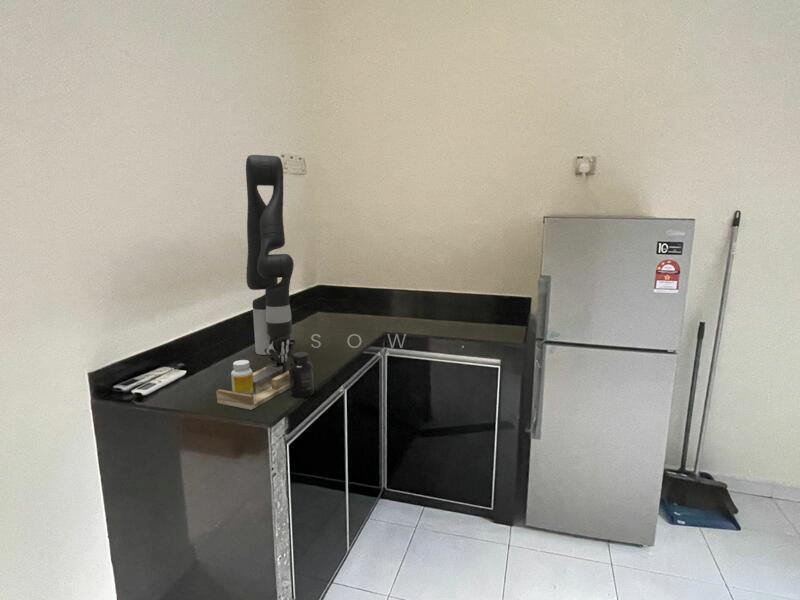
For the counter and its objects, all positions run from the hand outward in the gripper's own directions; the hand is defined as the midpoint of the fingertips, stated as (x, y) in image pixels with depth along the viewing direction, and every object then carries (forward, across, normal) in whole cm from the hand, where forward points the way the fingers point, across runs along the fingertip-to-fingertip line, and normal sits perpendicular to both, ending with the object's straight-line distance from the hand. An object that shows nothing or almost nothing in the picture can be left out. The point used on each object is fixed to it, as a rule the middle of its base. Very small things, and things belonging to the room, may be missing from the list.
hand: (282, 372), depth 151 cm
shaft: (+1, -9, 0) cm, 9 cm away
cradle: (+3, -10, 0) cm, 10 cm away
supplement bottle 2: (+3, -7, -12) cm, 14 cm away
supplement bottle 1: (+2, -17, 0) cm, 17 cm away
